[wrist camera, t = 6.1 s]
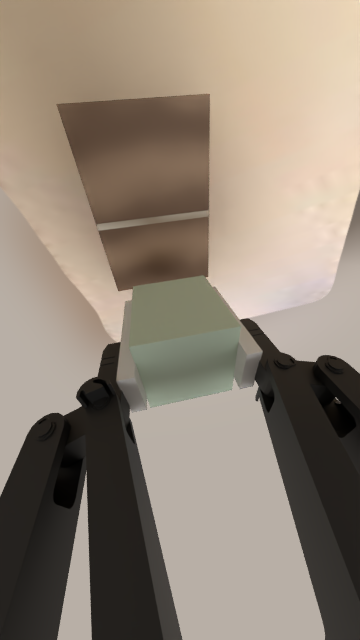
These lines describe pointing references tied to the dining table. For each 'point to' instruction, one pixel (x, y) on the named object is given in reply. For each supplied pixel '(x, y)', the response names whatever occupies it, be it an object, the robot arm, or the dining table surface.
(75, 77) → the dining table surface
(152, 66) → the dining table surface
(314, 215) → the dining table surface
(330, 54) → the dining table surface
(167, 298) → the sage block
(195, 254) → the walnut board
